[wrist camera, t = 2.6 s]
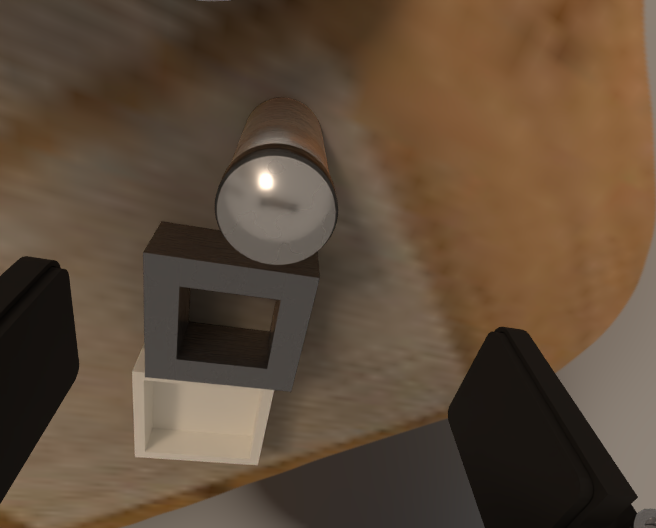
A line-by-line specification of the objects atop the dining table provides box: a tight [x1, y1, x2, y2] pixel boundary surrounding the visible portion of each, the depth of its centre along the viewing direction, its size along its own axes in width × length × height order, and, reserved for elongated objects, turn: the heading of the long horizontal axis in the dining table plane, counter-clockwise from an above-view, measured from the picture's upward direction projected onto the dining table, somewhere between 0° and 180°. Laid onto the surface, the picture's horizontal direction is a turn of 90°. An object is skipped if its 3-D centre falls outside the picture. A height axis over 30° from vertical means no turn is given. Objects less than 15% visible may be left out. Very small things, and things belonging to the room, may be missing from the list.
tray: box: [132, 345, 274, 465], centre depth 31 cm, size 9×9×3 cm
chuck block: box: [143, 222, 320, 392], centre depth 26 cm, size 9×9×3 cm
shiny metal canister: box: [215, 98, 338, 265], centre depth 18 cm, size 4×4×9 cm
